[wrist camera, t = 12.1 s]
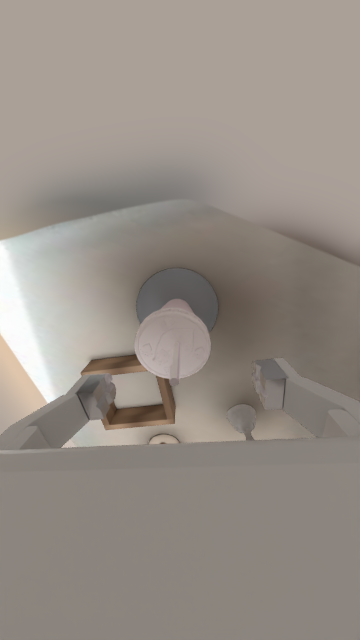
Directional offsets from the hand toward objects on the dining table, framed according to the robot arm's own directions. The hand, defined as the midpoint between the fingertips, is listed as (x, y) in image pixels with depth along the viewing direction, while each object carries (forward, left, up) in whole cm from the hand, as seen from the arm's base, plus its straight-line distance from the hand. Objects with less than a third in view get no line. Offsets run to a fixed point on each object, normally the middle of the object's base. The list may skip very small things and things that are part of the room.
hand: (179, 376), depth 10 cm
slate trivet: (+1, 0, -14) cm, 14 cm away
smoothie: (+1, +1, -14) cm, 14 cm away
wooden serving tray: (+10, +12, -14) cm, 21 cm away
